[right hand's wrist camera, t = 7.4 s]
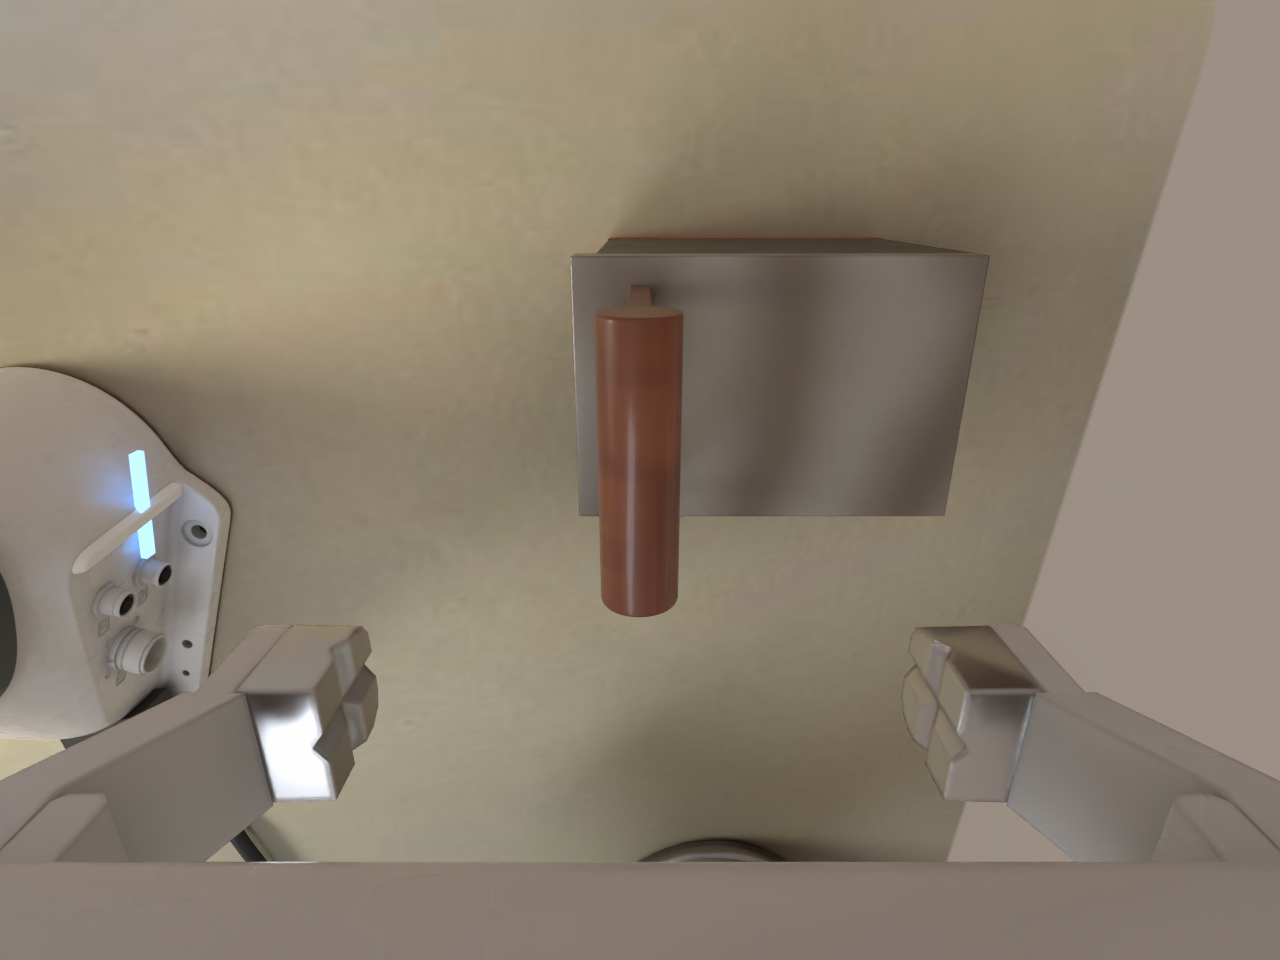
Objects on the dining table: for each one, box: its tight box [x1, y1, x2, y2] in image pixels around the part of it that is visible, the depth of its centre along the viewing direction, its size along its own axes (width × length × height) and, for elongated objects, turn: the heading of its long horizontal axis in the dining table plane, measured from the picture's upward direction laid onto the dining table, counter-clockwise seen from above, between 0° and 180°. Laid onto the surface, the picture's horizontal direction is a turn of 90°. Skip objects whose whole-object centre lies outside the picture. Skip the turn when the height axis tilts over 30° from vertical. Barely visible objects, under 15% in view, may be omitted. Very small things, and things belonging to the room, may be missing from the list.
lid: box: [570, 253, 989, 617], centre depth 22 cm, size 14×10×10 cm
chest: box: [597, 238, 969, 254], centre depth 32 cm, size 13×10×11 cm
